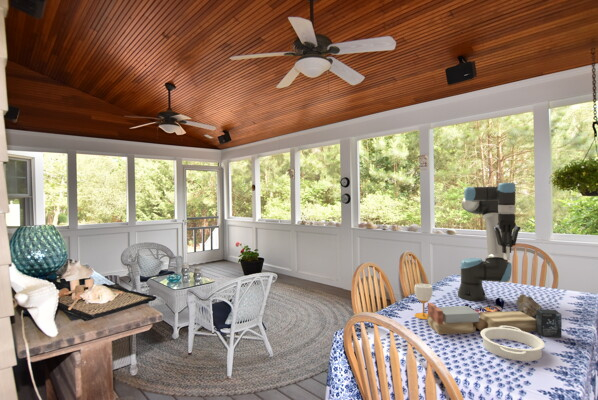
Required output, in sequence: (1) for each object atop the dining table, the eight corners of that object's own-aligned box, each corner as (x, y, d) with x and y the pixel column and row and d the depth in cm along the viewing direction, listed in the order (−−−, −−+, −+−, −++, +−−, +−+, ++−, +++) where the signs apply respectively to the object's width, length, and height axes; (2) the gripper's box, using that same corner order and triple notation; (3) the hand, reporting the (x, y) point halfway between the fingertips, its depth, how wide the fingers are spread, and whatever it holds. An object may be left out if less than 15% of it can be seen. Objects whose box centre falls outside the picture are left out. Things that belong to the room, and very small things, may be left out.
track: (427, 323, 166) (427, 302, 166) (519, 321, 168) (519, 300, 168) (438, 334, 154) (438, 311, 154) (537, 331, 156) (537, 308, 156)
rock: (530, 323, 171) (545, 310, 168) (509, 305, 177) (524, 292, 174) (530, 320, 179) (545, 307, 176) (510, 302, 184) (524, 290, 181)
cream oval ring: (550, 372, 121) (550, 359, 121) (479, 358, 132) (479, 346, 132) (540, 341, 146) (540, 330, 146) (481, 331, 157) (481, 321, 157)
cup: (432, 314, 179) (432, 284, 179) (433, 320, 171) (433, 288, 170) (414, 312, 182) (414, 282, 182) (414, 318, 174) (414, 287, 173)
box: (541, 336, 150) (541, 312, 150) (535, 331, 155) (535, 308, 155) (562, 338, 148) (562, 313, 148) (555, 332, 154) (555, 309, 153)
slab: (435, 315, 165) (435, 307, 165) (467, 314, 167) (466, 305, 166) (445, 323, 155) (445, 314, 155) (479, 321, 157) (479, 313, 157)
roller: (474, 323, 167) (464, 322, 166) (476, 313, 167) (466, 312, 166) (487, 332, 157) (476, 330, 156) (489, 321, 157) (478, 319, 156)
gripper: (498, 214, 168) (498, 261, 169) (524, 213, 168) (524, 260, 169) (489, 212, 176) (489, 258, 177) (514, 212, 176) (514, 257, 177)
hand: (506, 259), depth 173 cm, fingers closed
